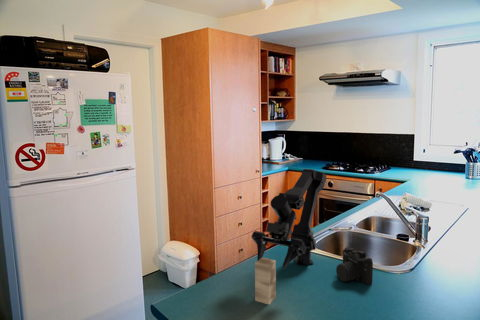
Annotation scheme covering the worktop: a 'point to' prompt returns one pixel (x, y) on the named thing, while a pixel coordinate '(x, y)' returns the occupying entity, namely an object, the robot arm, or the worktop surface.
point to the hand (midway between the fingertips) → (270, 265)
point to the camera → (355, 266)
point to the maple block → (265, 280)
